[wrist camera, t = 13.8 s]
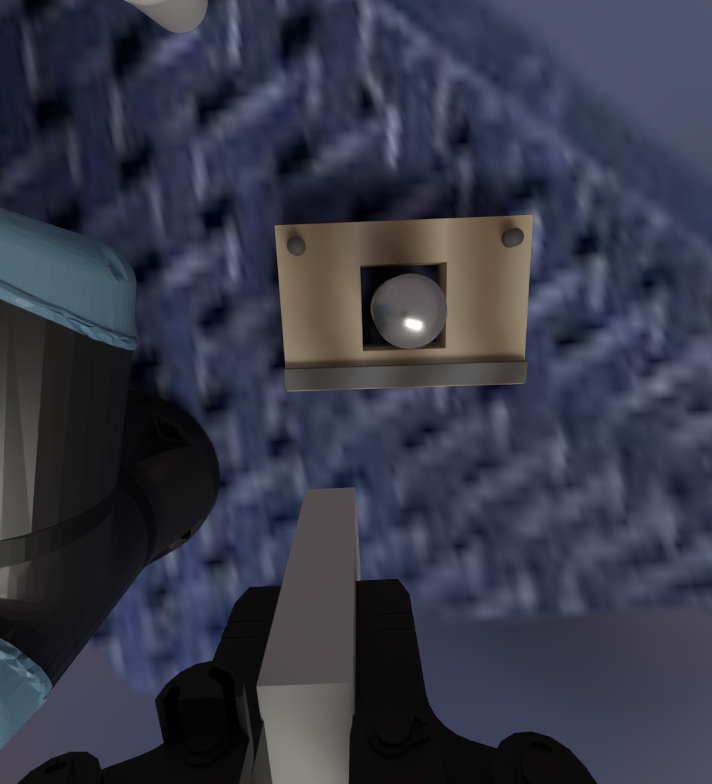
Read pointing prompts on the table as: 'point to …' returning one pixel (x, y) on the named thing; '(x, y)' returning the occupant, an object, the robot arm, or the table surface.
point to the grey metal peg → (409, 310)
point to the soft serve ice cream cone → (174, 13)
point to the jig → (454, 277)
